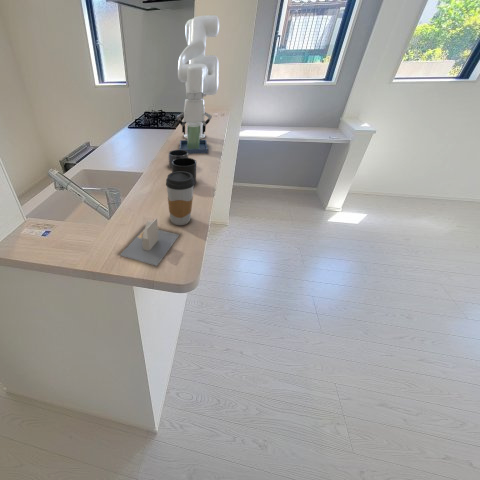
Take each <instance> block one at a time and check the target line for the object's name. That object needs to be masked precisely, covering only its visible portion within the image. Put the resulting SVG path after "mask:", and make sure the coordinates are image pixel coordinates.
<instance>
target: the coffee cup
mask: <svg viewBox="0 0 480 480" xmlns="http://www.w3.org/2000/svg"><path fill="white" fill-rule="evenodd" d="M165 185H166V191H167V202H168V203H167V205H168V210H169V211H168V212H169V220H170V221H171V223H172V224H173V225H175V226H185V225H187V224H189V222H190V221H191V217H192V207H193V200H194V199H193V195H194V187H195V185H194V178H193V175H192V174H191V173H189V172H184V171H177V172H173V173H172V172H170V173H168V175H167V178H166V180H165Z"/></svg>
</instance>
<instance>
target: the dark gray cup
mask: <svg viewBox="0 0 480 480" xmlns="http://www.w3.org/2000/svg"><path fill="white" fill-rule="evenodd" d="M178 158H189V154H188V151H186V150H179V149H173V150H170V151H168V167H169V169H171V170H172V161H173V160H175V159H178Z"/></svg>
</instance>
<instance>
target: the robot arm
mask: <svg viewBox="0 0 480 480" xmlns="http://www.w3.org/2000/svg"><path fill="white" fill-rule="evenodd" d="M184 26H185V27H184V29H185V30H184V31H185V32H184V33H185V40H186V44H187V46H186V47H185V48H184V49H183V50H182V52H181V53H180V55H179V58H178V64H177V79H178V81H179V82H180V83H185V94H186V99H185V100H184V106H183V112H182V113H180V114H178V115H177V116H176V120H177V122H178V124H179V125H180V126H181V133H183V138H184V139H185V140H187V132H186V131H187V130H188V125H190V124H199V125H200V140H203V139H204V138H206V134H205V132H206V127H207V125H208V124H209V123H210V121H211V119H212V118H213V115H212V114H210V113H208V112H207V111H206V109H205V108H206V107H205V106H206V105H205V98H204V97H207V96H214V95H216V94H217V93H218V90H219V79H220V76H219V74H220V62H219V58H218V56H216V55H213V54H212V55H206V47H207V38H217V36H218V35H219V31H220V19H219V17H218V16H217V15H215V14H210V15H208V14H207V15H198V16H194V17H193V18H190V19H188V20H187V21H186V22H185V25H184ZM205 117H207V119H206V120H205ZM181 118H183V121H182V120H181Z"/></svg>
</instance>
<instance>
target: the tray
mask: <svg viewBox="0 0 480 480" xmlns="http://www.w3.org/2000/svg"><path fill="white" fill-rule="evenodd" d="M178 150H186V151H188V155H189V154H208V153H209V147H208V142H207V139H200V145H199V149H187V139H180V141H179V149H178Z"/></svg>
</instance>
